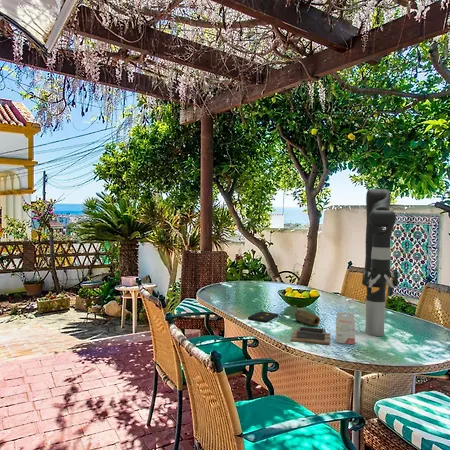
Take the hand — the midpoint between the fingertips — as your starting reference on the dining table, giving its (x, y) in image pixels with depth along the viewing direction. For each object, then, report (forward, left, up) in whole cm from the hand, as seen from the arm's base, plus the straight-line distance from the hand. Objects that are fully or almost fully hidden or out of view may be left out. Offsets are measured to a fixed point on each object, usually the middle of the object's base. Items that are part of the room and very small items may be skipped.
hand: (379, 296), depth 164 cm
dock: (-19, -29, -27) cm, 44 cm away
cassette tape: (-49, -58, -28) cm, 81 cm away
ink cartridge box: (-19, -13, -27) cm, 36 cm away
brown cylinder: (-46, -33, -27) cm, 63 cm away
